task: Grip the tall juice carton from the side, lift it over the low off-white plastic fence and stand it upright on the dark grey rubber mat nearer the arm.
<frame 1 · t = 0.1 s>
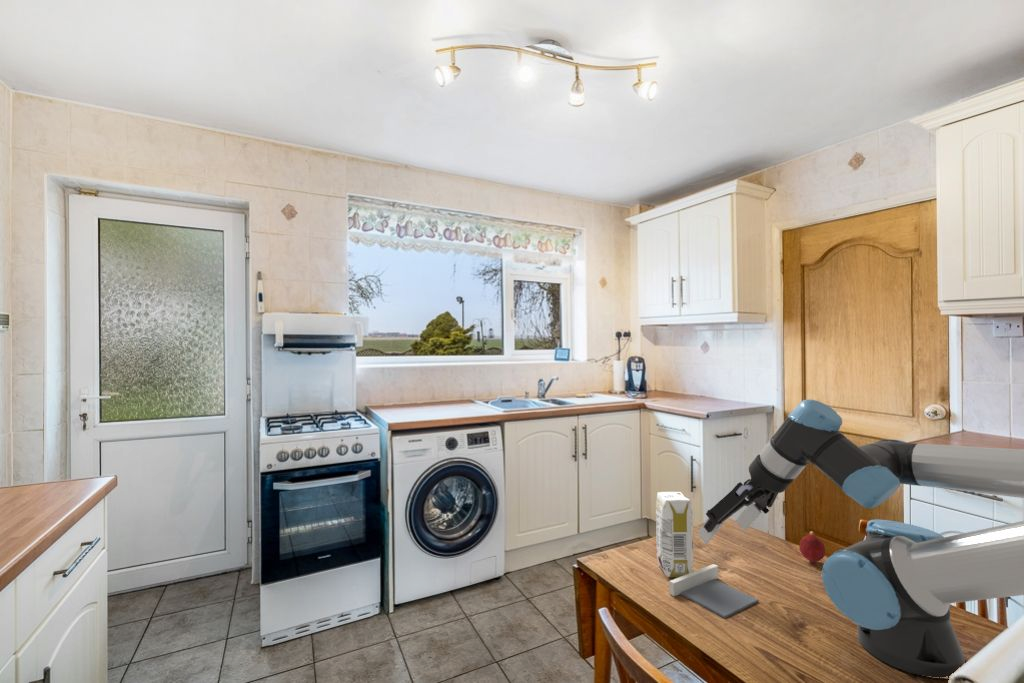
hand: (721, 531, 105), 15 cm above the table, tool tilted 35°, fingers open, 13 cm apart
mat: (719, 598, 106), on the table
onion: (812, 563, 123), on the table
fence: (694, 585, 112), on the table
bread roll: (847, 594, 108), on the table
juice carton: (674, 571, 119), on the table
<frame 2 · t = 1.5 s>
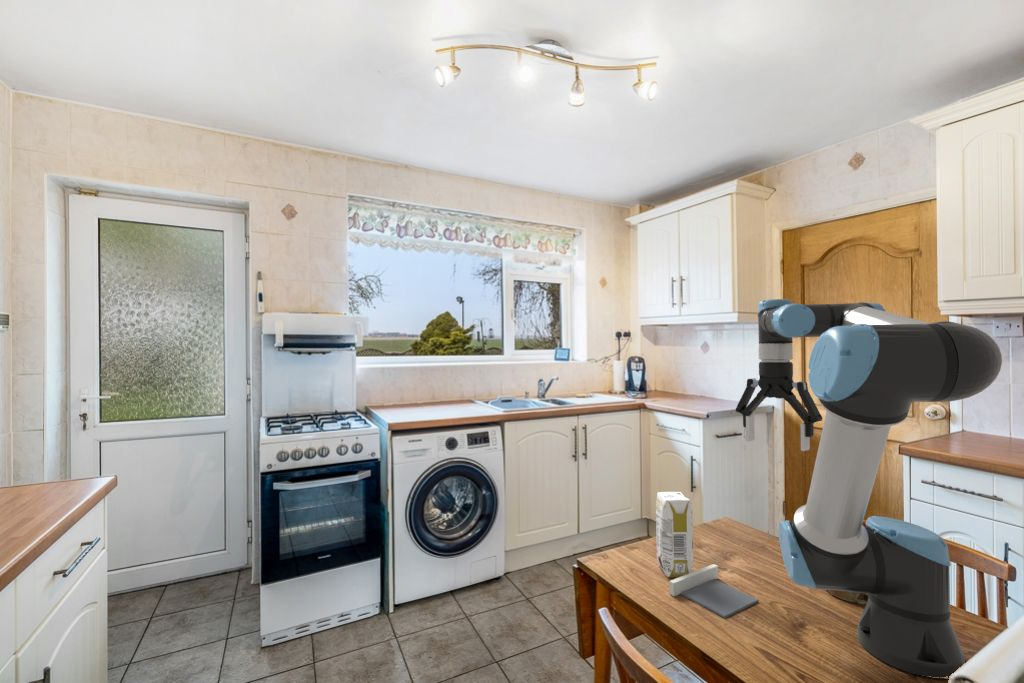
hand: (776, 445, 119), 32 cm above the table, tool pointing down, fingers open, 13 cm apart
nothing on the table moved.
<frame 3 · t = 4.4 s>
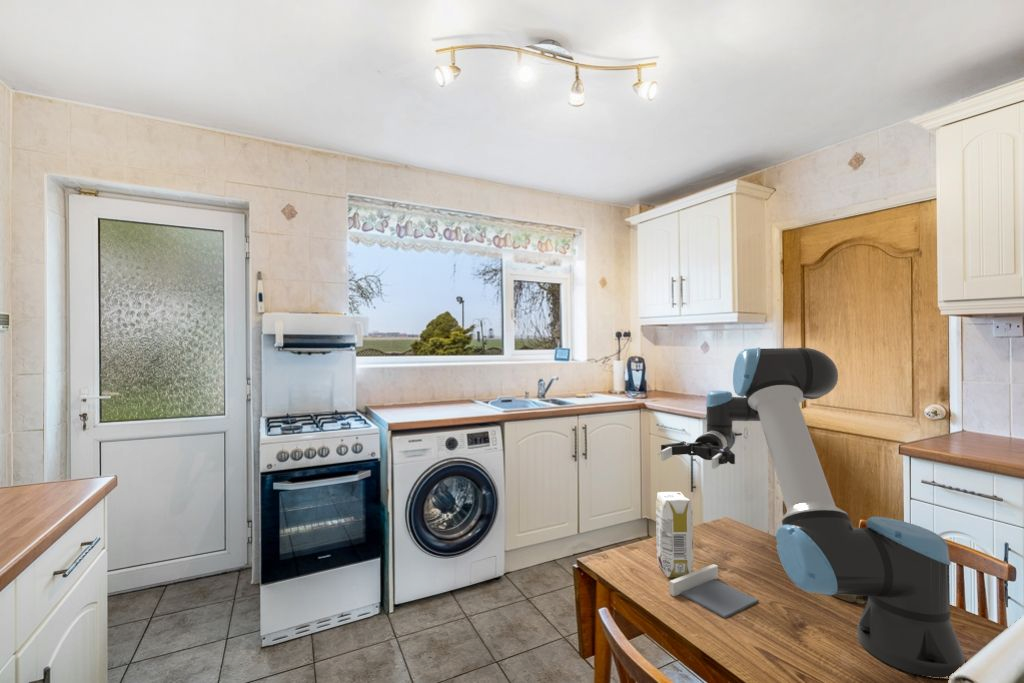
hand: (686, 459, 127), 26 cm above the table, tool horizontal, fingers open, 13 cm apart
nothing on the table moved.
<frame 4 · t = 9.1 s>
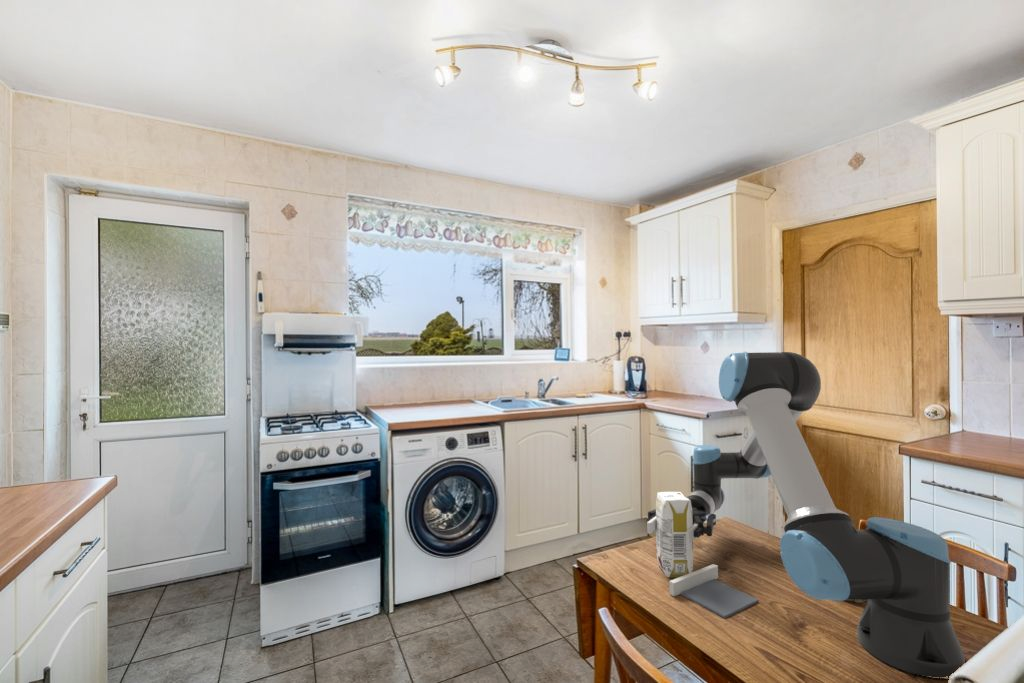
hand: (667, 532, 116), 11 cm above the table, tool horizontal, fingers closed on juice carton, 9 cm apart
juice carton: (674, 571, 119), on the table, touching gripper
everything else where it was.
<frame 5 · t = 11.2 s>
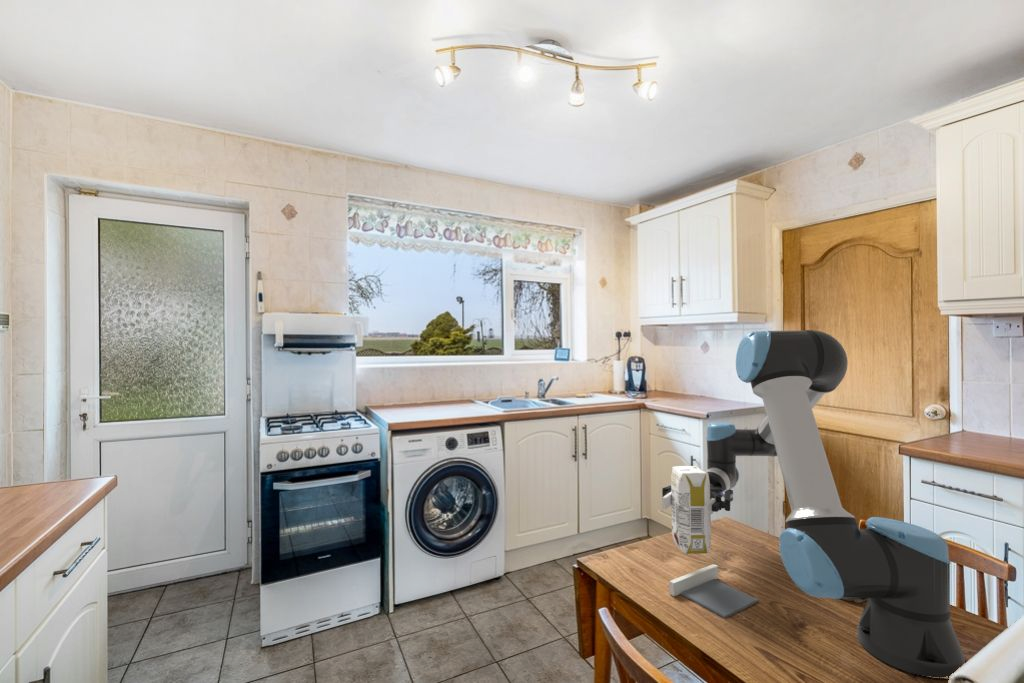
hand: (684, 507, 111), 19 cm above the table, tool horizontal, fingers closed on juice carton, 9 cm apart
juice carton: (691, 548, 114), point 8 cm above the table, touching gripper
everything else where it was.
when the fingers open (13 cm above the table, at t = 13.6 s): juice carton drops 1 cm, resting on mat.
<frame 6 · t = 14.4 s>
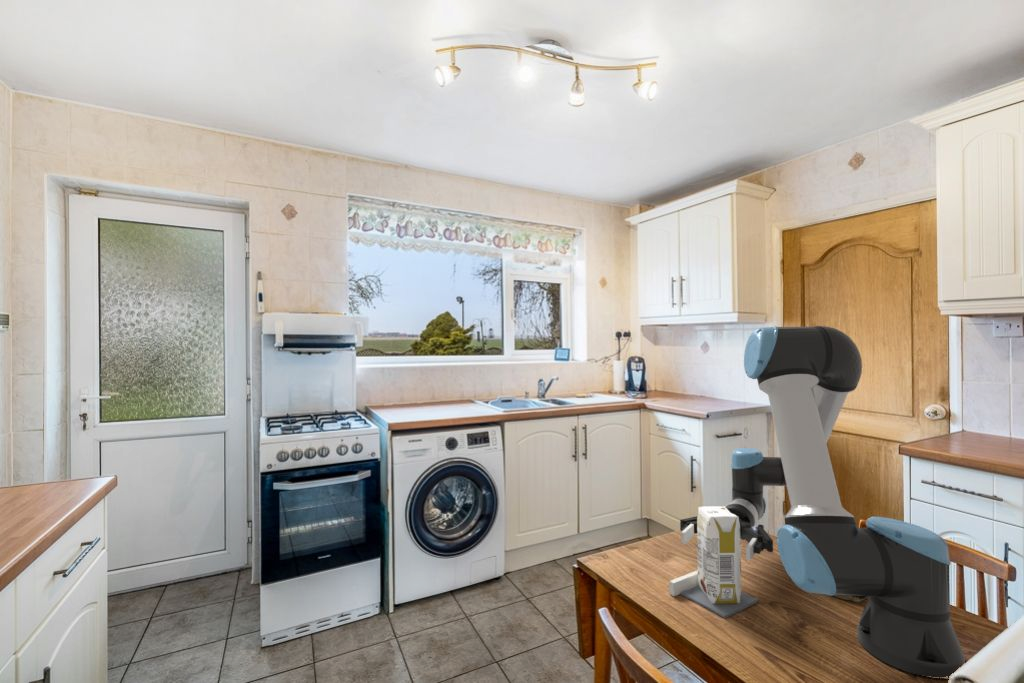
hand: (714, 546, 104), 13 cm above the table, tool horizontal, fingers open, 13 cm apart
juice carton: (719, 596, 106), resting on mat
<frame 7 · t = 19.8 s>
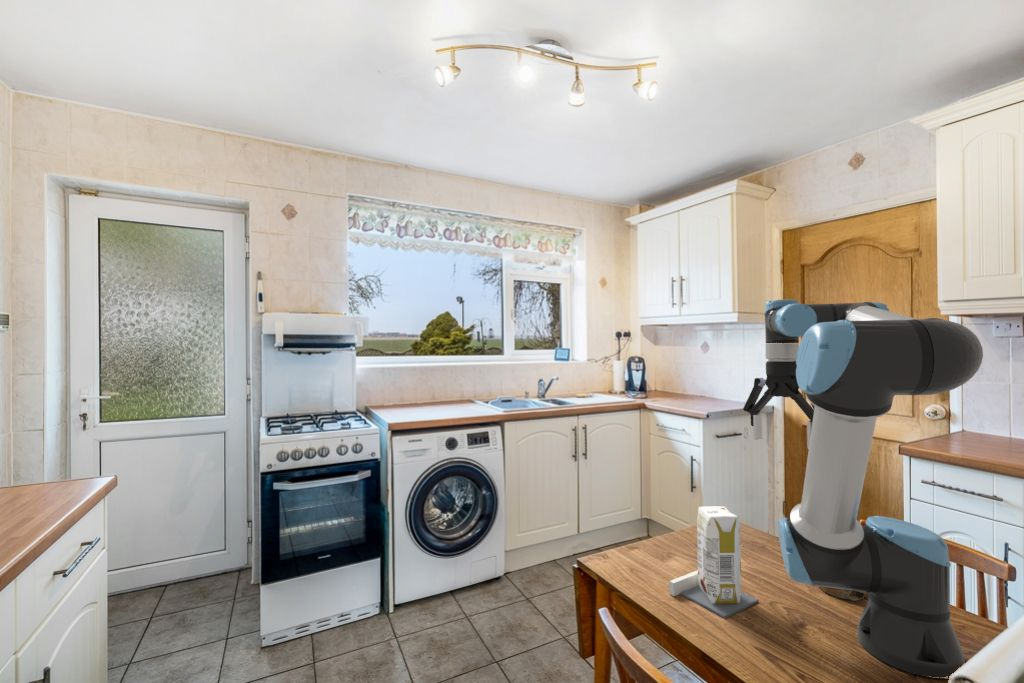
hand: (783, 443, 120), 32 cm above the table, tool pointing down, fingers open, 13 cm apart
at the end: juice carton inside the target area on the mat (0.1 cm from its centre), point 0.3 cm above the mat's base; juice carton tilted 0°; the gripper is holding nothing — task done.
